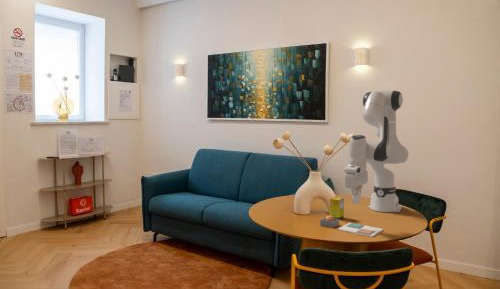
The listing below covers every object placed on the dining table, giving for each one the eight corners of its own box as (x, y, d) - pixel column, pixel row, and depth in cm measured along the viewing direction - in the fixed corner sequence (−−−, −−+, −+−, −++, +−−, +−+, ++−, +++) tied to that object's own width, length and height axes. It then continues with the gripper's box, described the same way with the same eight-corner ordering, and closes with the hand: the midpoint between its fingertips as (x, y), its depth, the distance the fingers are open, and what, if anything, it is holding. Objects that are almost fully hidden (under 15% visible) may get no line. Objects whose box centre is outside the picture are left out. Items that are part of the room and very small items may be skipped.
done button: (327, 220, 210) (328, 215, 210) (334, 222, 207) (335, 216, 207) (324, 222, 207) (324, 216, 206) (331, 223, 204) (331, 218, 204)
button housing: (326, 222, 212) (326, 216, 212) (338, 224, 208) (338, 219, 207) (320, 225, 207) (320, 219, 206) (332, 227, 202) (332, 222, 202)
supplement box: (334, 215, 226) (334, 196, 225) (343, 217, 222) (344, 198, 222) (329, 217, 222) (329, 198, 221) (338, 219, 218) (339, 199, 217)
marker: (354, 201, 205) (354, 182, 204) (361, 202, 202) (362, 183, 202) (350, 202, 202) (351, 183, 201) (358, 204, 199) (359, 184, 198)
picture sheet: (349, 223, 210) (349, 222, 210) (383, 230, 199) (383, 228, 199) (337, 229, 199) (337, 228, 199) (372, 237, 188) (372, 235, 188)
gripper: (359, 164, 211) (359, 190, 212) (342, 169, 195) (341, 197, 196) (371, 165, 207) (370, 192, 208) (354, 170, 191) (353, 198, 192)
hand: (356, 194), depth 202 cm, fingers closed on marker, 4 cm apart
